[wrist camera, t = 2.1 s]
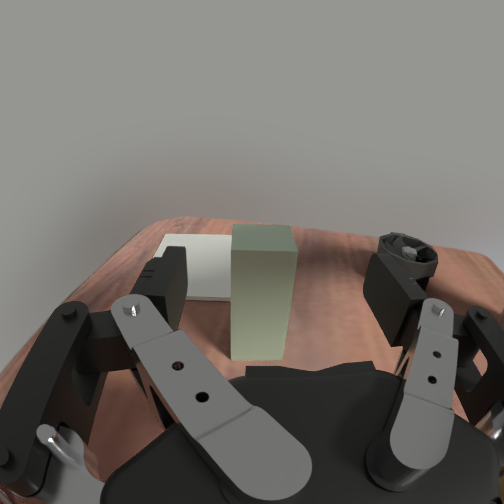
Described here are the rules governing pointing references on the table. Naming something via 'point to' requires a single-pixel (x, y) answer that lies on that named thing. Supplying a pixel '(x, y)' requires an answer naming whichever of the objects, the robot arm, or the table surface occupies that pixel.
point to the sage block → (261, 290)
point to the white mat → (204, 264)
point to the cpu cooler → (410, 256)
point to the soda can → (4, 498)
